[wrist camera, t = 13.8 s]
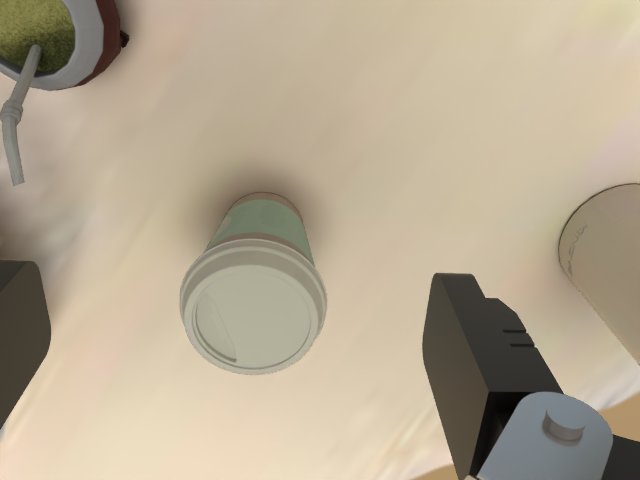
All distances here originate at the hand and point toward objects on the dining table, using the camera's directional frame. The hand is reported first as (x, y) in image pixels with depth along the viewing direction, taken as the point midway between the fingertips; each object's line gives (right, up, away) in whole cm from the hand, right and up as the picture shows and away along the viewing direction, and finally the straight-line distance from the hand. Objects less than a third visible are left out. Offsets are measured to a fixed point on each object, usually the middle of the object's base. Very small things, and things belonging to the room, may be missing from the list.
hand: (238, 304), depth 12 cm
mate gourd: (-13, +15, +24) cm, 31 cm away
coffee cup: (-2, +2, +31) cm, 31 cm away
